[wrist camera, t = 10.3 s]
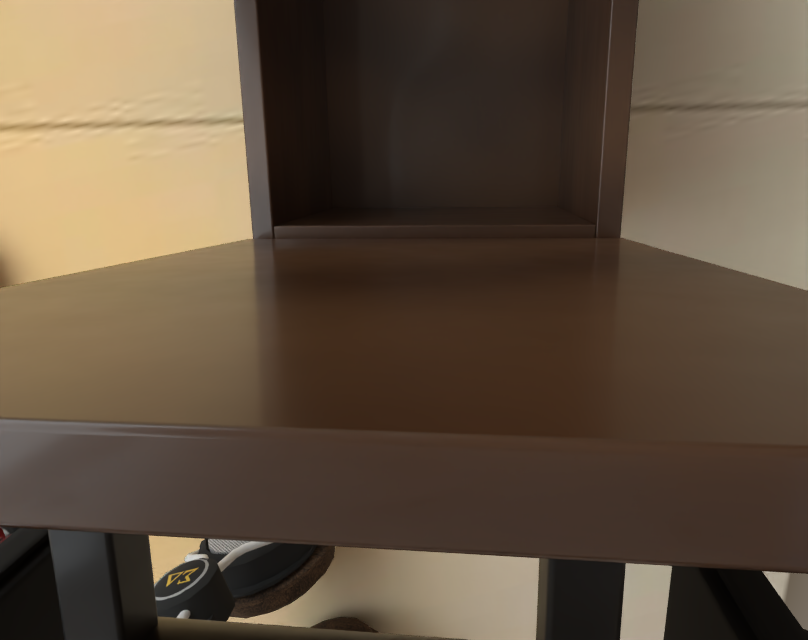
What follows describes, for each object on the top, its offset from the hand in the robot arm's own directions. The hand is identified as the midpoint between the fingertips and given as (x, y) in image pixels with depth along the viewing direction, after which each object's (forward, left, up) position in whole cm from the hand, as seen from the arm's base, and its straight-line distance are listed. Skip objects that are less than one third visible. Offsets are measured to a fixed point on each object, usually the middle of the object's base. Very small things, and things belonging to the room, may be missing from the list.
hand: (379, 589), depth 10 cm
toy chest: (-11, -3, -22) cm, 25 cm away
